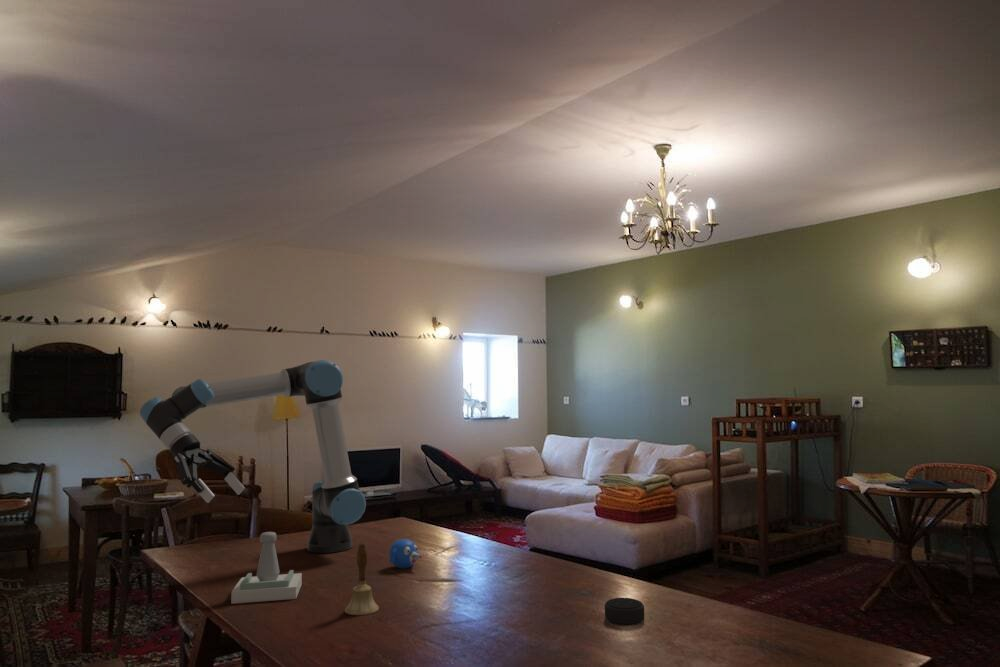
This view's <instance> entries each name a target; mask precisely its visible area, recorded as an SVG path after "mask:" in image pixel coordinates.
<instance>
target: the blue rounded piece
mask: <svg viewBox="0 0 1000 667" xmlns="http://www.w3.org/2000/svg"><path fill="white" fill-rule="evenodd" d="M389 548H390V549H389V552H388V554H389V563H391V564H392V565H393V566H395V567H396V568H398V569H407V568H410V567H412V566H413V565H414V564H415V563H416V562H417V561H418V560H419V559H422V558H423V555H422V554H420V553H419V548H418V546H417V545H416V543H415V542H414V541H412V540H411V539H407V538H402V539H398V540H396V541H394V543H392V545H391V546H390V547H389Z"/></svg>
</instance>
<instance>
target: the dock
mask: <svg viewBox="0 0 1000 667" xmlns="http://www.w3.org/2000/svg"><path fill="white" fill-rule="evenodd" d="M294 570H295V569H290V570H289V571H288V573H287V574H285V573H283V574H279V575H278V578H277V580H276V581H262V582H260V581H259V579H258V577H257V575H255V576H253V573H252V572H248V573H247V574H246V576H245V577H244V576H243V577H241V578H240V579H239V581H238V582H237V583H236V585H235V586H234V587H233V589H232V590H231V592H230V594H231V595H230V596H231V597H230V598H231V599H230V600H231V602H230V603H231V604H245V603H247V604H248V603H258V602H259V603H260V602H270V601H284V600H285V601H286V600H295V599H297V597H298V595H299V592H300V590H301V587H302V582H303V579H302V577H303V574H302V572H299V573H294V572H295V571H294Z"/></svg>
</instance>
